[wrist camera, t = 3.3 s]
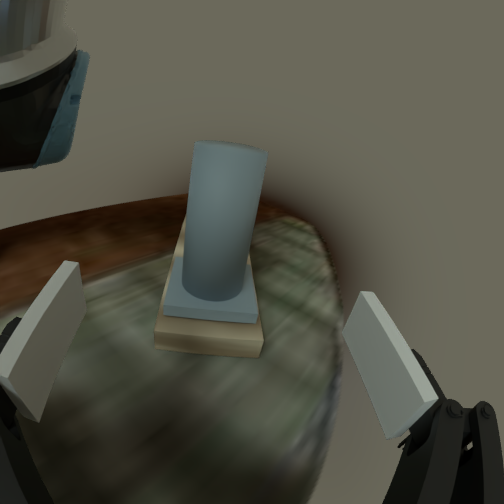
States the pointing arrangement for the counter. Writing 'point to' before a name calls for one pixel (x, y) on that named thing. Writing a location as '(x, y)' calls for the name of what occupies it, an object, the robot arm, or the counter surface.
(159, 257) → the counter surface
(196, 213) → the grey cylinder on base
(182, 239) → the rail
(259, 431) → the counter surface
